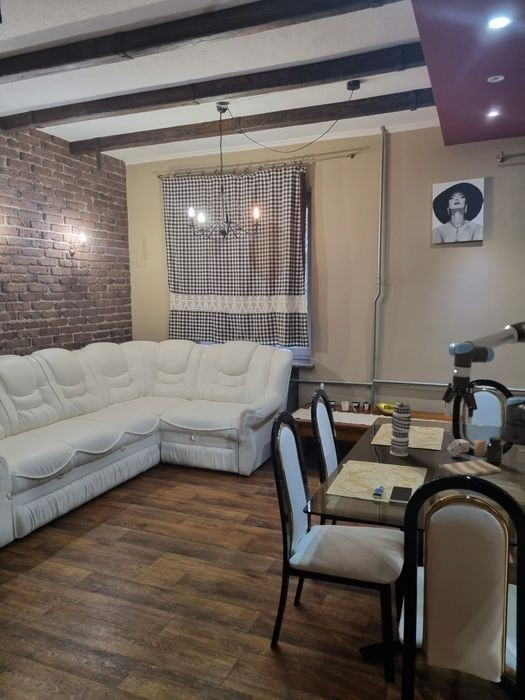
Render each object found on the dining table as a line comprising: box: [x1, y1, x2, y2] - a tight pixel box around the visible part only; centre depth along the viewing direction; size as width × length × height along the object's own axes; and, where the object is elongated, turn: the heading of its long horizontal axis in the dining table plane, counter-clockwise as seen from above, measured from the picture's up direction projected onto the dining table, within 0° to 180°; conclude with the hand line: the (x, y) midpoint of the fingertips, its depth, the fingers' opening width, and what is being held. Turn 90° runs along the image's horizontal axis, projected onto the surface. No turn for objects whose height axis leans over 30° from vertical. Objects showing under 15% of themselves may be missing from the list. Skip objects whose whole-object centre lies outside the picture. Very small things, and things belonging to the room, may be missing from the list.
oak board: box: [441, 459, 502, 477], centre depth 220 cm, size 22×12×1 cm, turn 110°
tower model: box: [389, 401, 412, 457], centre depth 236 cm, size 9×9×25 cm
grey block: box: [453, 438, 470, 453], centre depth 245 cm, size 5×5×5 cm
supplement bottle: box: [485, 436, 504, 467], centre depth 227 cm, size 7×7×12 cm
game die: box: [444, 439, 466, 459], centre depth 234 cm, size 9×8×10 cm
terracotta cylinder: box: [473, 439, 487, 458], centre depth 238 cm, size 5×5×7 cm
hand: (457, 419), depth 232 cm, fingers open, 13 cm apart
